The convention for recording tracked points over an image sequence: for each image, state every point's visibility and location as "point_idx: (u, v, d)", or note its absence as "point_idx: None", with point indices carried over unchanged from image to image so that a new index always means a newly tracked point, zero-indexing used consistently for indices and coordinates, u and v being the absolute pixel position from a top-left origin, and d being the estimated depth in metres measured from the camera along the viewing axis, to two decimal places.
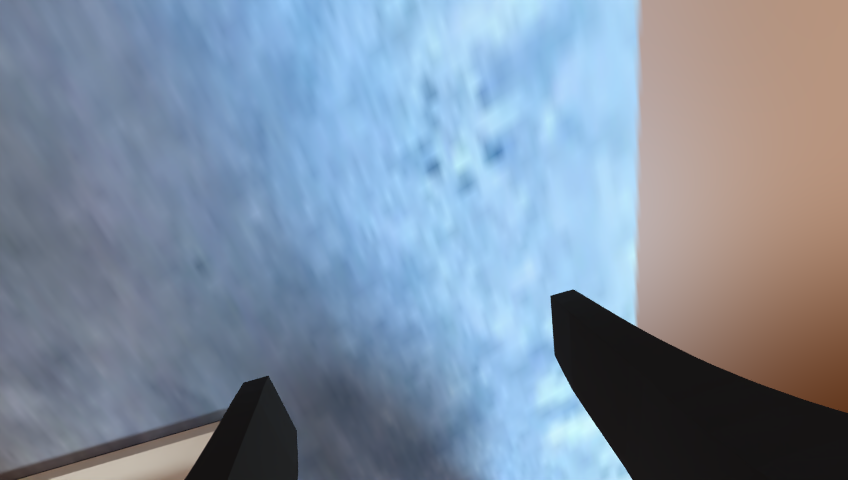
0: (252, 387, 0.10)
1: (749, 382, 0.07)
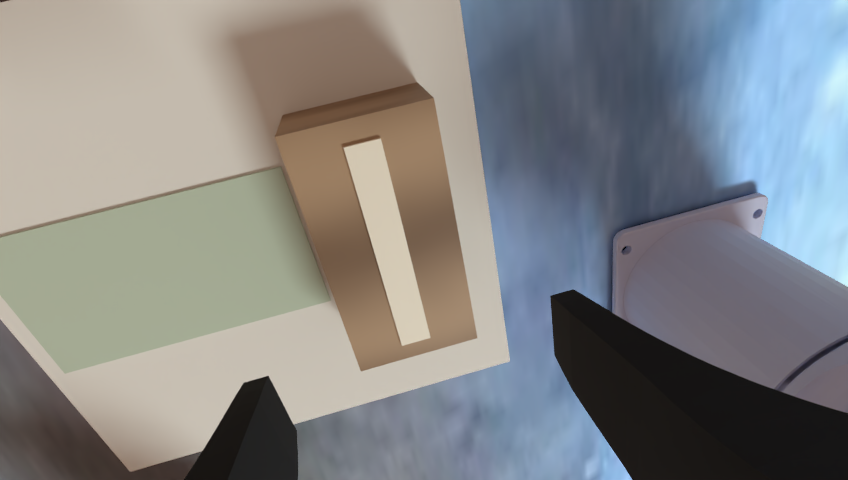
0: (252, 387, 0.10)
1: (749, 382, 0.07)
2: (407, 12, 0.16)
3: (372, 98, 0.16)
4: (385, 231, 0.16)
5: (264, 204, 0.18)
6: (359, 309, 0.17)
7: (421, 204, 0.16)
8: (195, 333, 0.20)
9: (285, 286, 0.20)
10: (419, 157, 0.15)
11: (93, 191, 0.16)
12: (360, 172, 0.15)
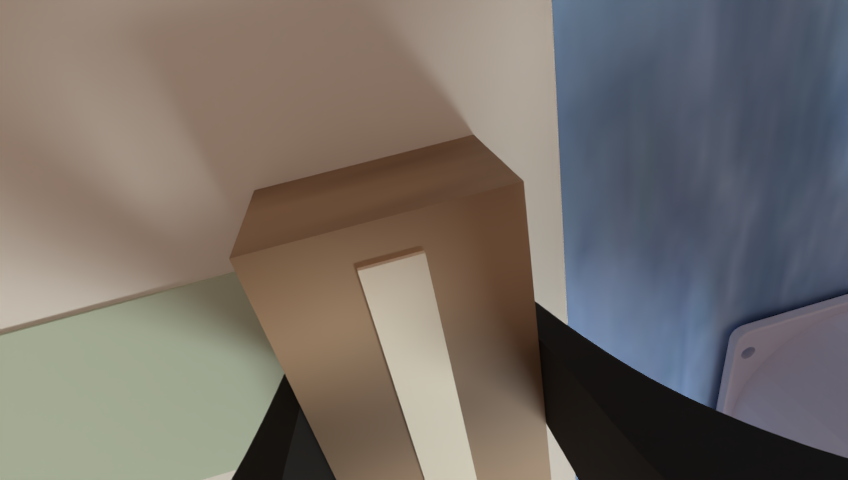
0: None
1: (689, 401, 0.07)
2: (463, 21, 0.09)
3: (403, 167, 0.09)
4: (425, 391, 0.09)
5: (228, 322, 0.11)
6: None
7: (487, 347, 0.09)
8: None
9: None
10: (489, 278, 0.09)
11: None
12: (386, 306, 0.08)
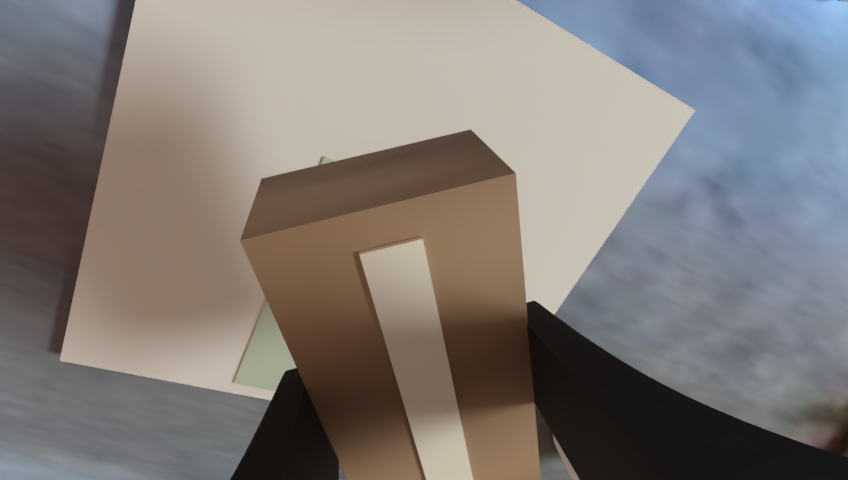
0: (295, 375, 0.10)
1: (690, 400, 0.07)
2: None
3: (404, 159, 0.10)
4: (421, 371, 0.10)
5: None
6: (375, 469, 0.11)
7: (480, 330, 0.10)
8: None
9: None
10: (482, 264, 0.09)
11: (249, 290, 0.19)
12: (386, 288, 0.09)
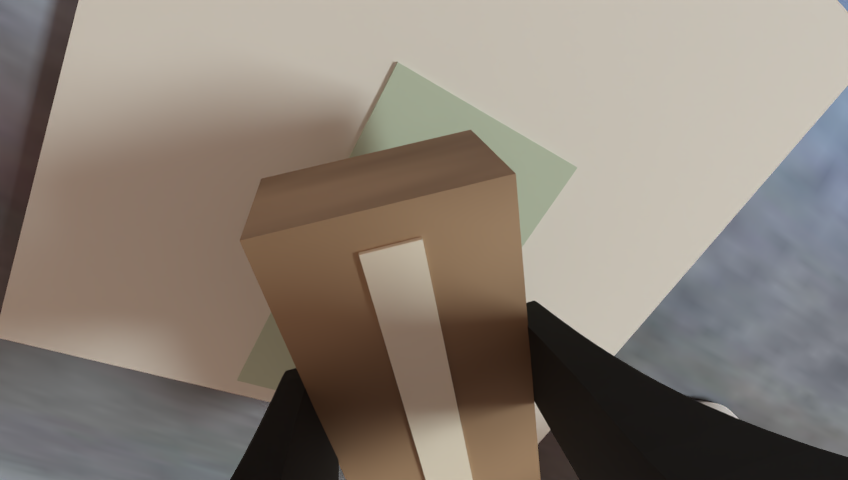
0: (295, 375, 0.10)
1: (690, 400, 0.07)
2: None
3: (404, 159, 0.10)
4: (420, 371, 0.10)
5: (419, 122, 0.13)
6: (374, 469, 0.11)
7: (479, 331, 0.10)
8: None
9: None
10: (482, 265, 0.09)
11: None
12: (386, 288, 0.09)
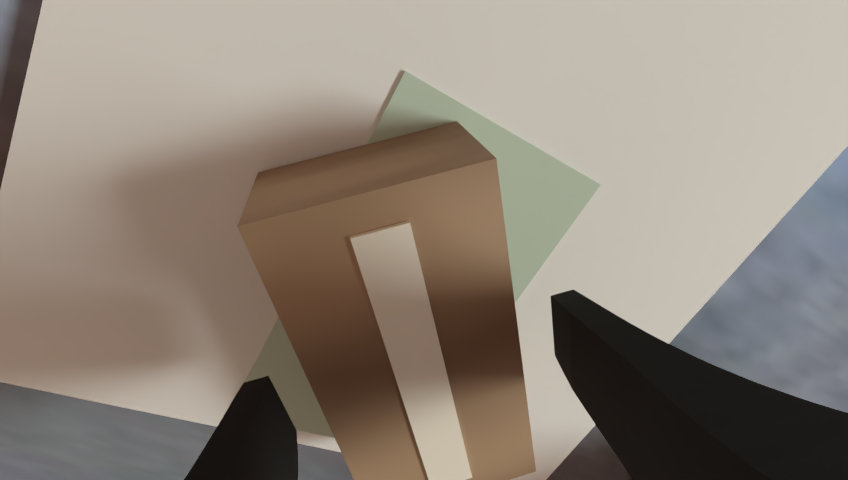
0: (252, 387, 0.10)
1: (749, 382, 0.07)
2: None
3: (392, 149, 0.10)
4: (413, 351, 0.10)
5: None
6: (372, 450, 0.12)
7: (469, 311, 0.10)
8: None
9: (533, 212, 0.13)
10: (468, 247, 0.10)
11: None
12: (377, 271, 0.09)
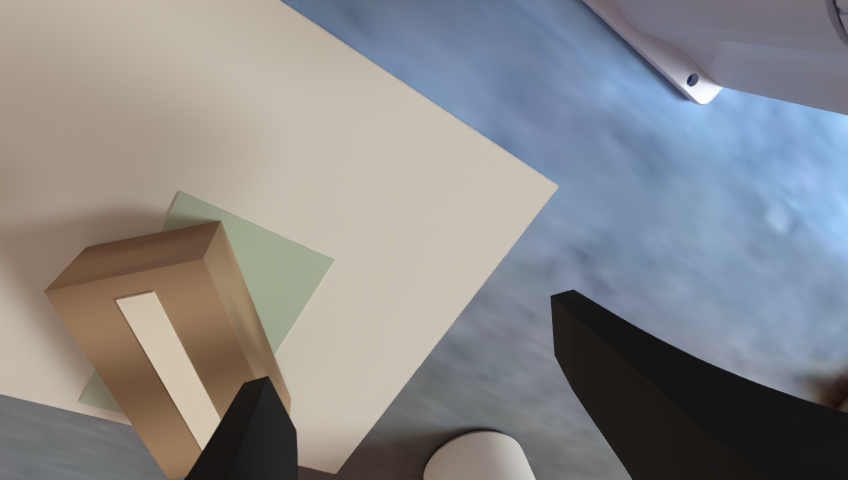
0: (252, 387, 0.10)
1: (749, 382, 0.07)
2: None
3: (166, 240, 0.17)
4: (172, 367, 0.17)
5: None
6: (158, 429, 0.18)
7: (207, 343, 0.17)
8: None
9: (287, 276, 0.19)
10: (197, 306, 0.16)
11: None
12: (138, 318, 0.16)
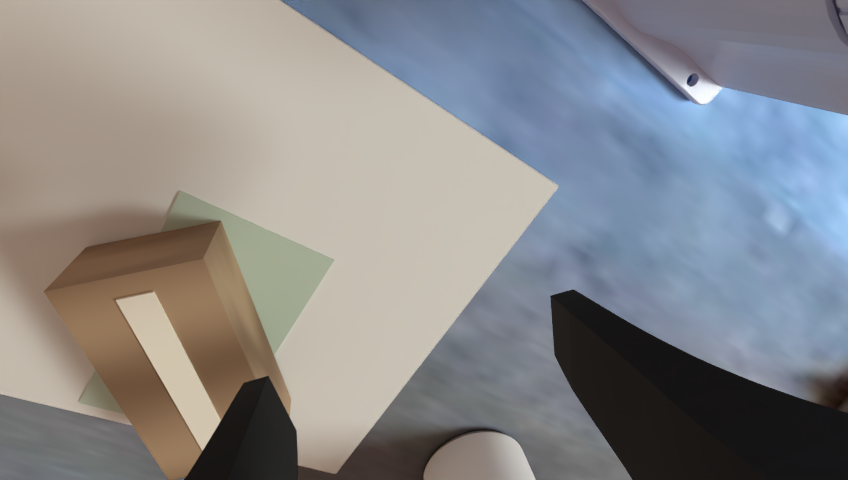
0: (252, 387, 0.10)
1: (749, 382, 0.07)
2: None
3: (166, 240, 0.17)
4: (172, 367, 0.17)
5: None
6: (158, 429, 0.18)
7: (207, 343, 0.17)
8: None
9: (287, 276, 0.19)
10: (197, 306, 0.16)
11: None
12: (138, 318, 0.16)
